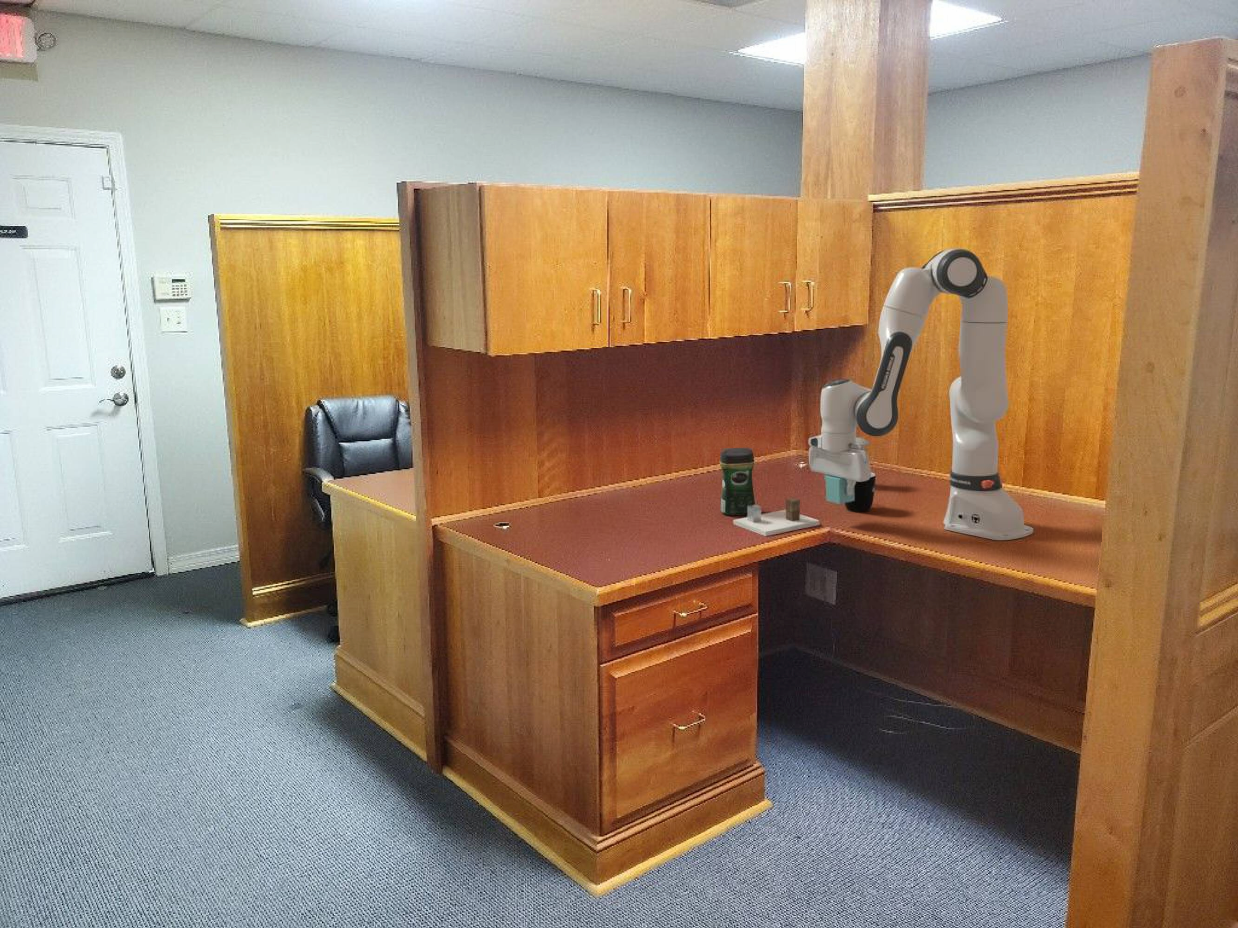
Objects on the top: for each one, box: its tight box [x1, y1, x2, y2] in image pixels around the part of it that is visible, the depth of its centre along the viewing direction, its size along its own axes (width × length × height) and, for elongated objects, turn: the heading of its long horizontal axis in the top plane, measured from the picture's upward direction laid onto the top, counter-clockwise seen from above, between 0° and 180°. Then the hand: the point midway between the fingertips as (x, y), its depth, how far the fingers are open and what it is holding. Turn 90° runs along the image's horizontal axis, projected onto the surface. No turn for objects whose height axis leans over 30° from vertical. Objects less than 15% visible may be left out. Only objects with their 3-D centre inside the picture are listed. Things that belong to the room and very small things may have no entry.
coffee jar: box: [719, 447, 756, 516], centre depth 272 cm, size 10×8×19 cm
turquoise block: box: [825, 475, 855, 505], centre depth 257 cm, size 5×5×7 cm
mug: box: [844, 471, 876, 513], centre depth 274 cm, size 12×9×10 cm
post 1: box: [746, 504, 762, 523], centre depth 261 cm, size 3×3×4 cm
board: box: [732, 509, 820, 537], centre depth 261 cm, size 14×18×1 cm
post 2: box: [785, 497, 801, 521], centre depth 260 cm, size 3×3×6 cm
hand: (840, 492), depth 258 cm, fingers closed on turquoise block, 5 cm apart
